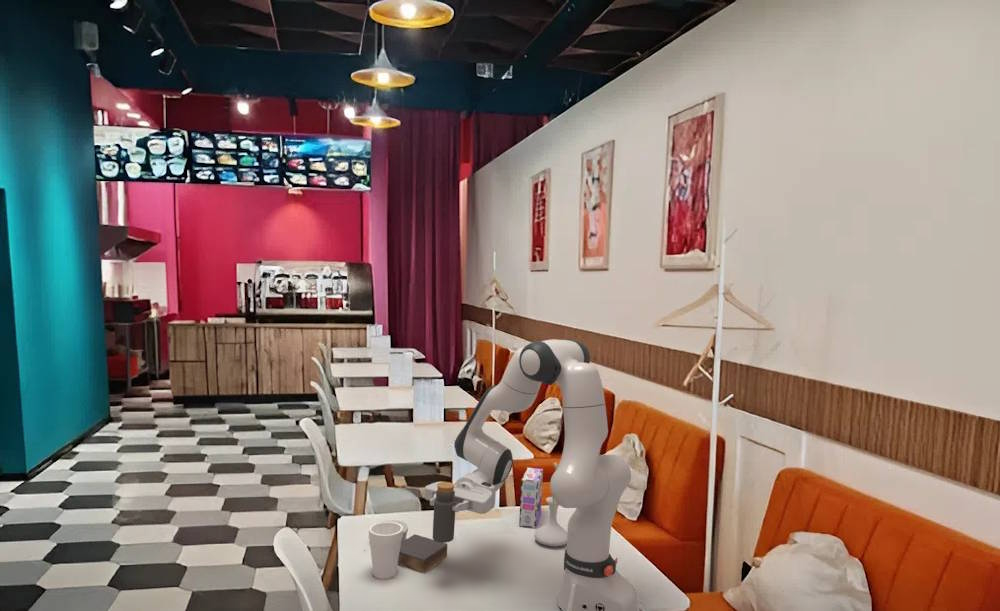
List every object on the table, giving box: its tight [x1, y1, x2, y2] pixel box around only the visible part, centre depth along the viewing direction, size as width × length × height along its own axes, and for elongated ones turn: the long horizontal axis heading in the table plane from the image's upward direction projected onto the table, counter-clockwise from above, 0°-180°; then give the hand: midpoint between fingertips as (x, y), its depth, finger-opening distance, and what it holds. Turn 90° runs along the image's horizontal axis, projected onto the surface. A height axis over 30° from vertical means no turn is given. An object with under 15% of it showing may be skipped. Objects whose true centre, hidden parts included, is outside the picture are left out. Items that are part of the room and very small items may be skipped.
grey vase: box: [533, 462, 568, 547], centre depth 204 cm, size 13×11×25 cm
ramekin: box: [377, 519, 409, 542], centre depth 198 cm, size 11×11×5 cm
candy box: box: [518, 467, 544, 529], centre depth 220 cm, size 14×6×16 cm, turn 168°
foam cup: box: [368, 521, 403, 580], centre depth 179 cm, size 10×9×13 cm
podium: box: [397, 534, 448, 574], centre depth 188 cm, size 12×12×4 cm
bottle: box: [432, 481, 456, 544], centre depth 174 cm, size 6×6×15 cm
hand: (443, 506), depth 173 cm, fingers closed on bottle, 6 cm apart
